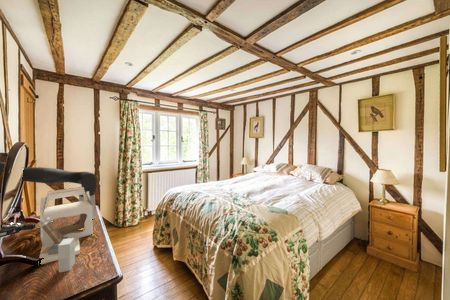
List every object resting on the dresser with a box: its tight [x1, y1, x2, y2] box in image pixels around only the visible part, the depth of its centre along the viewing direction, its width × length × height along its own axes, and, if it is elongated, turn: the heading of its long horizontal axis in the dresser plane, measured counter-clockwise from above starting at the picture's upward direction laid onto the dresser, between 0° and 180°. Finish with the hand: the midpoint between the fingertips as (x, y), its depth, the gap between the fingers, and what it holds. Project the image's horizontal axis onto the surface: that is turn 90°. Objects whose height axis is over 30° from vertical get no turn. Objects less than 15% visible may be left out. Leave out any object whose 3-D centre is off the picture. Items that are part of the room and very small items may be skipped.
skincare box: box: [57, 238, 76, 273], centre depth 87 cm, size 6×4×12 cm
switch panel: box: [38, 236, 81, 265], centre depth 99 cm, size 14×15×6 cm
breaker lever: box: [37, 216, 64, 244], centre depth 97 cm, size 6×2×14 cm, turn 18°
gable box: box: [39, 186, 94, 247], centre depth 113 cm, size 22×13×28 cm, turn 137°
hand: (34, 226), depth 95 cm, fingers closed
